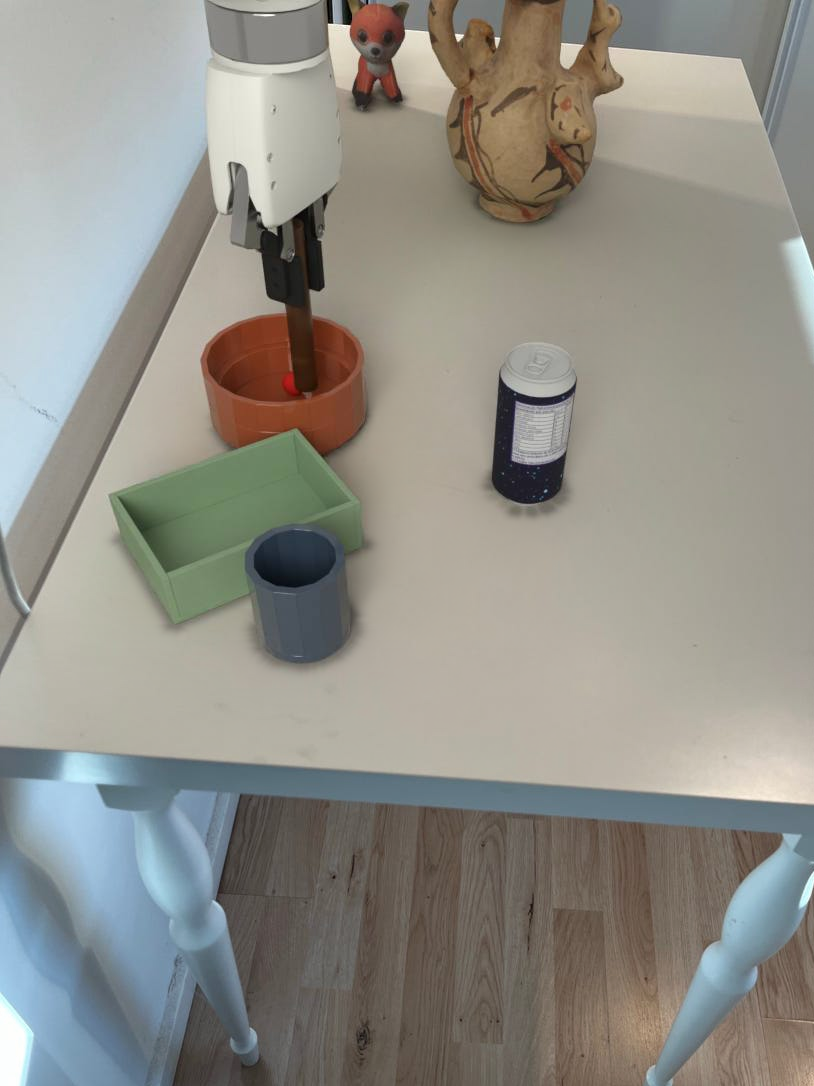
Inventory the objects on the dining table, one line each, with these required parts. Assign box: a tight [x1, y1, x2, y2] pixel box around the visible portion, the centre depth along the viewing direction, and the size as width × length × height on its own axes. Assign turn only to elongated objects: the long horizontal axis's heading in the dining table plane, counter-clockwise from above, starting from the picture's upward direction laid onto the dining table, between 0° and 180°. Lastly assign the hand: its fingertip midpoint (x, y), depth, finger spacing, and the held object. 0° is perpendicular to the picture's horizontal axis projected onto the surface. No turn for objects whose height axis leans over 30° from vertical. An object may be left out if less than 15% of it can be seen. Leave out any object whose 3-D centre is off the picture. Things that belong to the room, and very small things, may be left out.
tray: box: [107, 428, 364, 625], centre depth 72 cm, size 15×10×4 cm, turn 124°
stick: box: [275, 218, 318, 393], centre depth 77 cm, size 2×2×14 cm
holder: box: [245, 523, 352, 664], centre depth 66 cm, size 6×6×7 cm
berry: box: [282, 372, 302, 396], centre depth 84 cm, size 2×2×2 cm
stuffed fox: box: [347, 0, 410, 112], centre depth 123 cm, size 8×11×12 cm
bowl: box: [199, 312, 368, 457], centre depth 81 cm, size 13×13×6 cm
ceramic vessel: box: [427, 0, 625, 224], centre depth 101 cm, size 18×19×25 cm
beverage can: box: [491, 341, 578, 507], centre depth 74 cm, size 6×6×12 cm
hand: (296, 292), depth 75 cm, fingers closed on stick, 2 cm apart
